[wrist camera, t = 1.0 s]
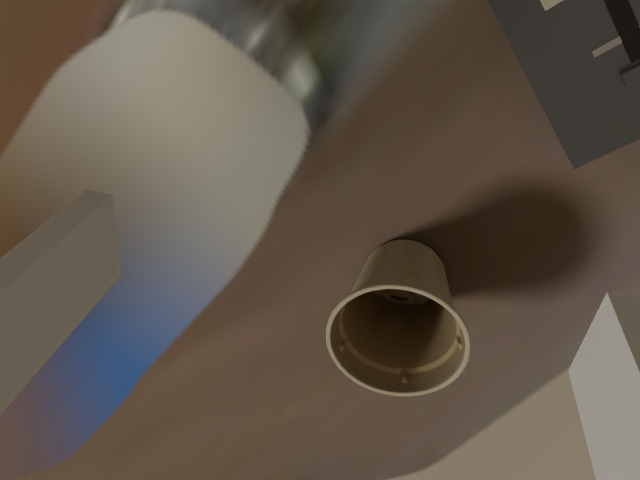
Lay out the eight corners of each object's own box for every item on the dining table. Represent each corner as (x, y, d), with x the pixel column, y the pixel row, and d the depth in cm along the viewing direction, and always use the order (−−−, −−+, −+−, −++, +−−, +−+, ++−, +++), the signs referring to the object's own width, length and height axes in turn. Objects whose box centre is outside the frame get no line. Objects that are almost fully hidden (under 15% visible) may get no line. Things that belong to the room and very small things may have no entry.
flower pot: (455, 208, 40) (455, 275, 32) (477, 311, 44) (482, 392, 37) (332, 230, 43) (307, 296, 35) (364, 324, 47) (347, 401, 40)
